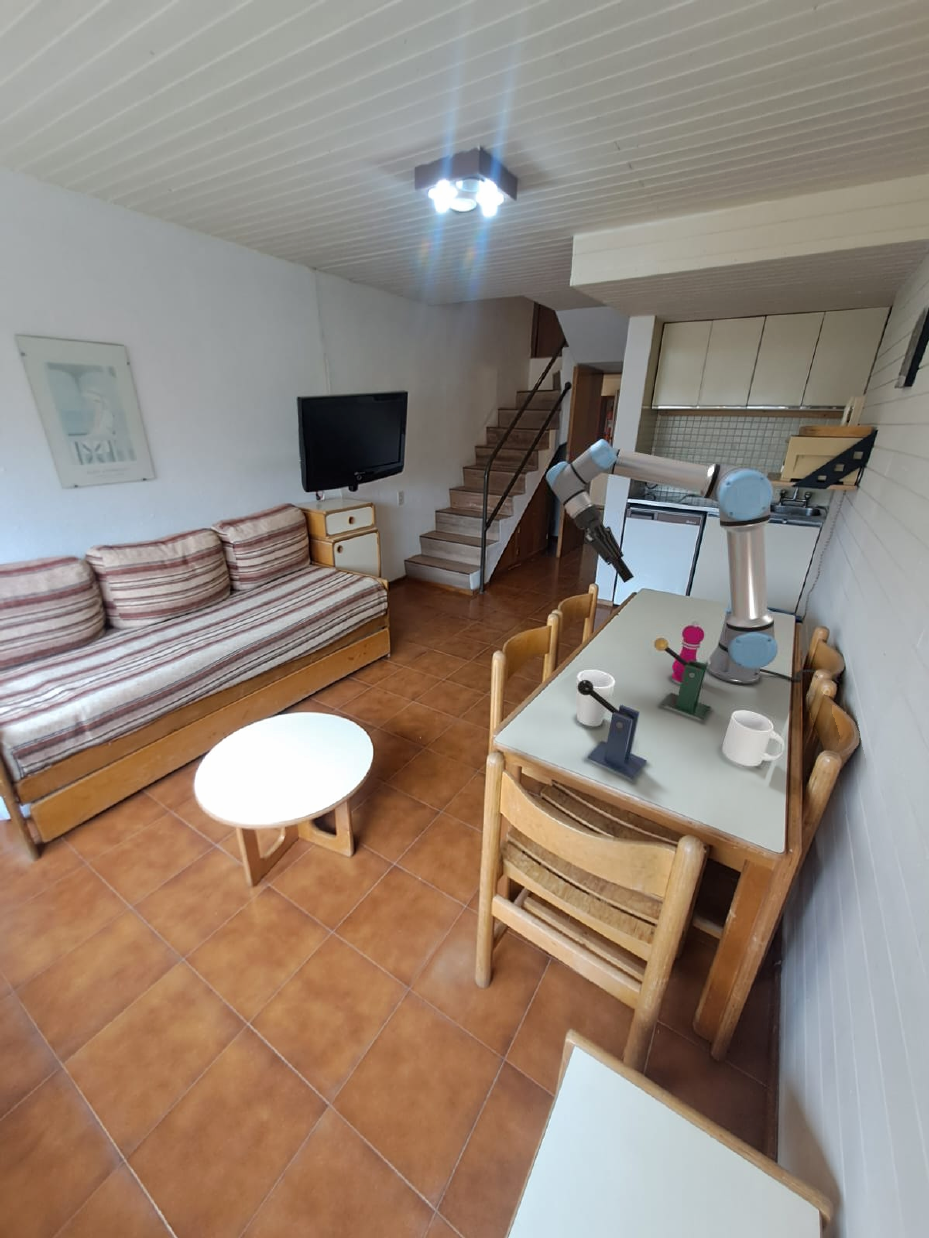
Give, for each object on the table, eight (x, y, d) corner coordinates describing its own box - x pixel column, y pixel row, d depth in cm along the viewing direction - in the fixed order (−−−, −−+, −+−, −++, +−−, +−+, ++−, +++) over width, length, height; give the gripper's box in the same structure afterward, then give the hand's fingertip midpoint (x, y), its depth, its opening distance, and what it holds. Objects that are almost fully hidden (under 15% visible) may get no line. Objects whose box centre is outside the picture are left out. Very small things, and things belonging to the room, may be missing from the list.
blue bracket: (587, 760, 115) (595, 710, 110) (601, 744, 121) (610, 696, 116) (632, 782, 109) (643, 730, 103) (645, 764, 115) (656, 714, 109)
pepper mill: (690, 676, 155) (704, 617, 147) (698, 688, 148) (713, 627, 140) (666, 674, 155) (679, 616, 147) (673, 686, 148) (687, 625, 141)
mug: (777, 780, 111) (791, 741, 107) (719, 761, 116) (730, 723, 112) (776, 758, 118) (790, 721, 114) (721, 742, 123) (732, 706, 119)
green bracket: (660, 707, 137) (670, 663, 132) (670, 696, 143) (680, 653, 138) (702, 722, 131) (714, 677, 126) (710, 710, 137) (722, 666, 131)
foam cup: (579, 733, 125) (586, 689, 120) (565, 713, 133) (571, 671, 128) (614, 730, 127) (622, 686, 122) (597, 710, 135) (604, 668, 130)
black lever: (572, 690, 115) (579, 680, 113) (579, 684, 117) (586, 674, 115) (622, 732, 109) (631, 722, 107) (628, 725, 112) (637, 715, 110)
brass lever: (649, 646, 137) (657, 637, 135) (654, 642, 139) (661, 633, 137) (693, 681, 132) (701, 672, 130) (697, 676, 134) (705, 667, 132)
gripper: (584, 516, 149) (627, 581, 146) (563, 522, 140) (609, 591, 137) (603, 501, 144) (648, 568, 141) (582, 506, 135) (630, 578, 132)
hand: (629, 579), depth 139 cm, fingers closed
